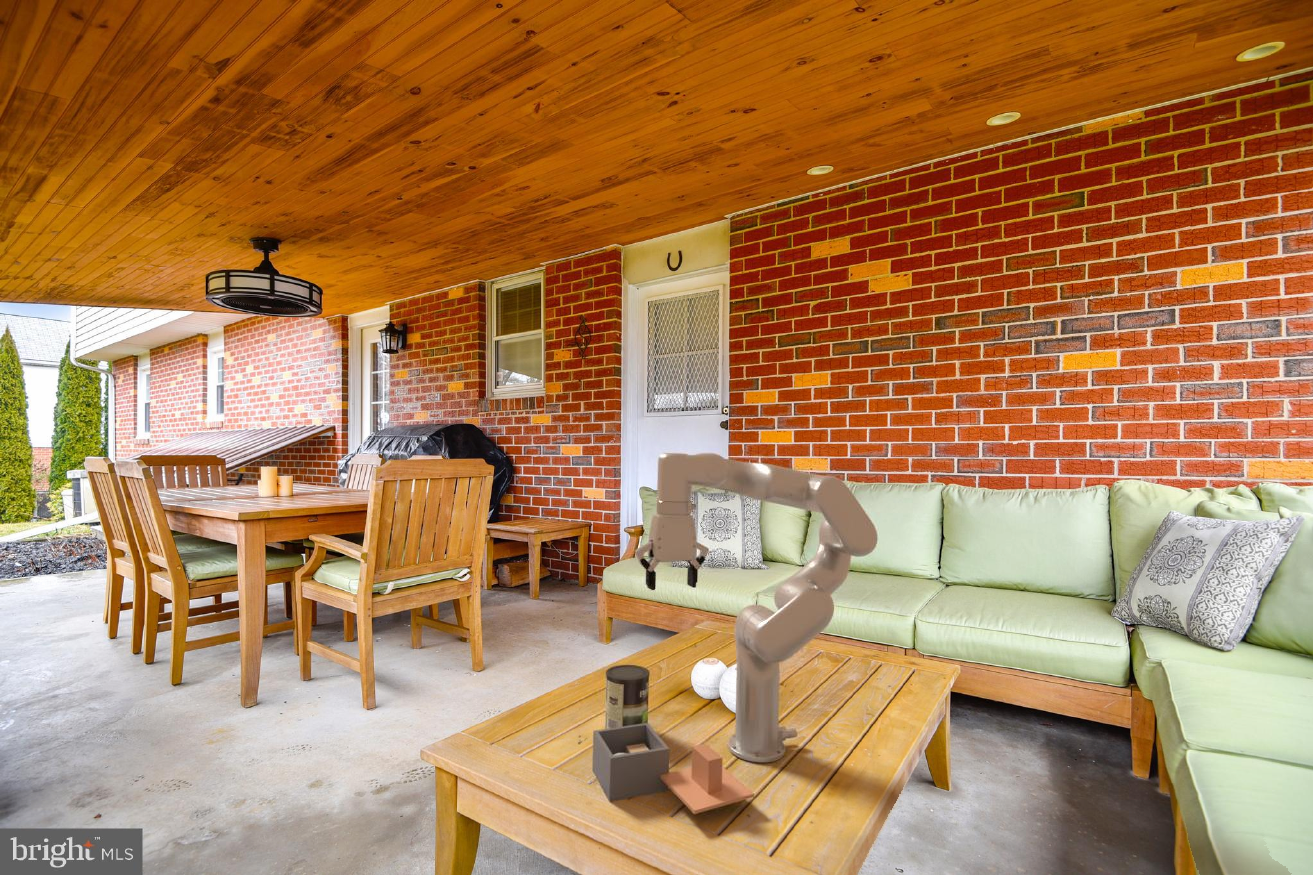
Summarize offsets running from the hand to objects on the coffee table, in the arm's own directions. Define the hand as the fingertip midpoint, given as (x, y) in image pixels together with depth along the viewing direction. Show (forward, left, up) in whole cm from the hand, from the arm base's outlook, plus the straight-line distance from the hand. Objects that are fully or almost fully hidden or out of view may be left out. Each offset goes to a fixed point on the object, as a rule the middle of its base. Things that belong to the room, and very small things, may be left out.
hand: (671, 587), depth 132 cm
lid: (0, +19, -34) cm, 38 cm away
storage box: (+11, +7, -36) cm, 38 cm away
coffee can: (+5, -13, -36) cm, 39 cm away
